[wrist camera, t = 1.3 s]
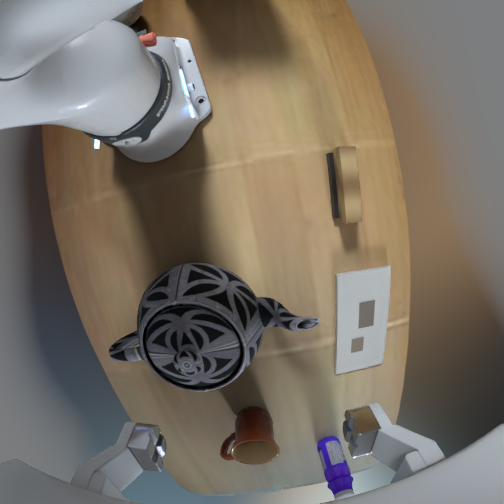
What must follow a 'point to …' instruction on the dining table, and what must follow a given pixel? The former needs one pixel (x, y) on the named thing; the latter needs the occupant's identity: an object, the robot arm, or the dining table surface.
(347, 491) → the bottle
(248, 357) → the teapot
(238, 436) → the mug
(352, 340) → the tile
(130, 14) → the decorative object
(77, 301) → the dining table surface
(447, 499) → the robot arm
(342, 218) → the brush
